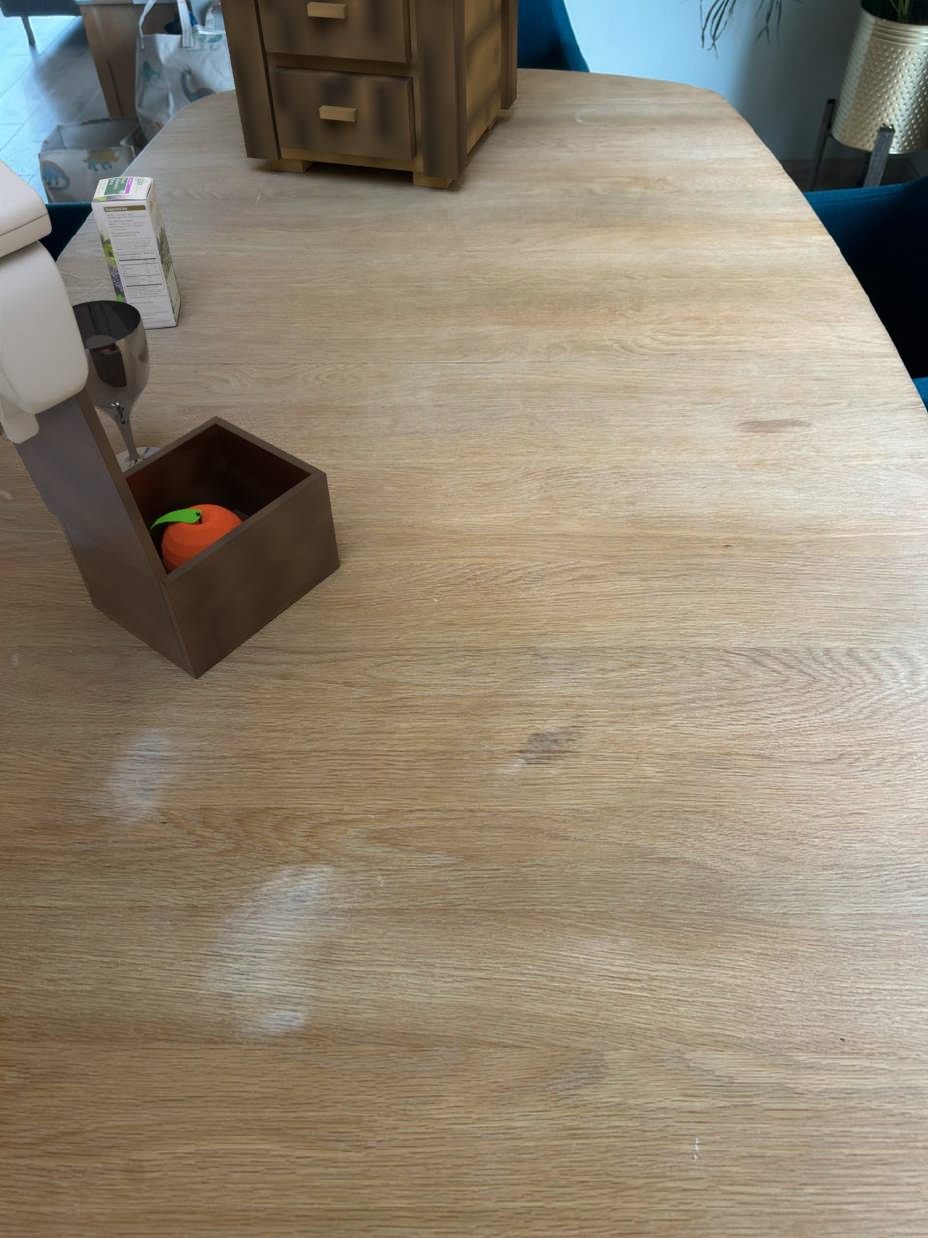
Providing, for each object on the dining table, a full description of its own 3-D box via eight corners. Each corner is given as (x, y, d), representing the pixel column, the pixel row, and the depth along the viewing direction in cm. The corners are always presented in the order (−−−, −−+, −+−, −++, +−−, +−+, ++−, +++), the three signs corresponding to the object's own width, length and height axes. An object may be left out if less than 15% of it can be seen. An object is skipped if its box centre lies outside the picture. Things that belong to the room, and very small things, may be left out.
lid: (-46, 304, 61) (-117, 342, 58) (80, 372, 55) (7, 418, 53) (57, 505, 73) (2, 543, 71) (168, 577, 68) (112, 621, 65)
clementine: (149, 608, 79) (125, 540, 74) (173, 549, 84) (152, 482, 79) (248, 612, 78) (231, 544, 73) (267, 553, 83) (252, 485, 78)
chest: (237, 507, 89) (215, 414, 82) (340, 566, 83) (326, 472, 76) (93, 606, 80) (55, 512, 73) (196, 679, 75) (165, 585, 68)
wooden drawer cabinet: (534, 110, 154) (542, -155, 130) (469, 206, 131) (464, -96, 107) (324, 92, 161) (295, -163, 138) (227, 179, 138) (172, -108, 115)
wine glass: (141, 435, 97) (97, 291, 86) (199, 463, 93) (161, 316, 83) (76, 477, 92) (21, 331, 81) (135, 508, 89) (85, 360, 78)
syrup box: (131, 305, 114) (95, 177, 104) (183, 301, 115) (152, 173, 104) (125, 331, 110) (86, 200, 100) (179, 327, 111) (146, 196, 100)
